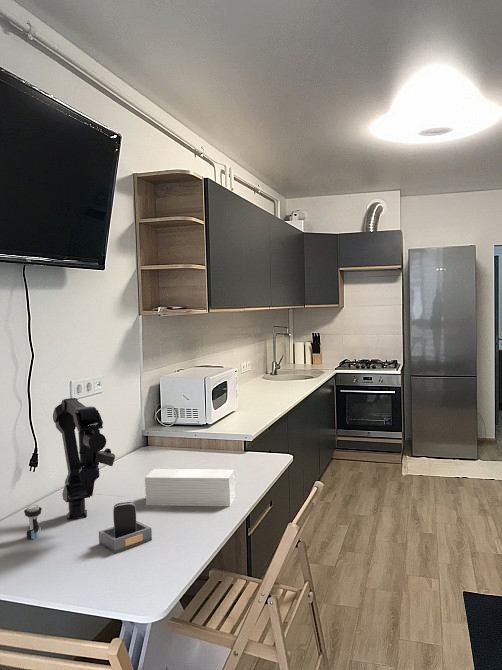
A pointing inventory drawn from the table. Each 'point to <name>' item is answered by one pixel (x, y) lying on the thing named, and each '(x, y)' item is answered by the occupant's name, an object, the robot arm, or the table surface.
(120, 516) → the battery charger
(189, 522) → the table surface
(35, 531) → the push button
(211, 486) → the stack of papers
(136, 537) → the tray
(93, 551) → the table surface
